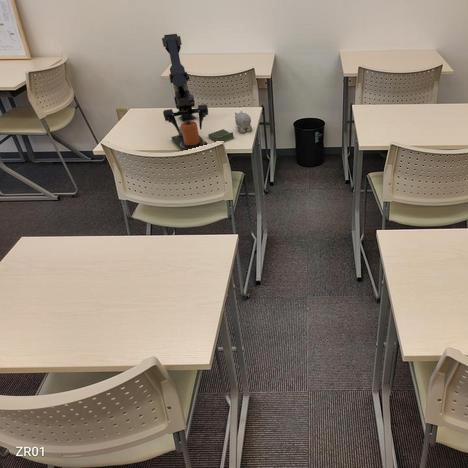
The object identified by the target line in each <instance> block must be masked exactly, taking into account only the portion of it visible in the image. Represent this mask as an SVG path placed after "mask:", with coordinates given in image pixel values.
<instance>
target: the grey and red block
mask: <svg viewBox="0 0 468 468" xmlns="http://www.w3.org/2000/svg"><path fill="white" fill-rule="evenodd" d="M178 128H179V132H180V133H178V132H177V135H179V136H183V134H182V130H181V126H178Z"/></svg>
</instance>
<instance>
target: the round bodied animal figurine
mask: <svg viewBox="0 0 468 468" xmlns="http://www.w3.org/2000/svg"><path fill="white" fill-rule="evenodd" d="M234 115H235V116H234V119H235V120H234V122H235V126H236V127H237V131H238V132H239V133H240V134H245V133H246V131H247V132H252V131H253V127H252V125H251V124H252V118H251V116H250V115H249V114H248V113H247V112H243V111H240V112H236V111H235V112H234Z"/></svg>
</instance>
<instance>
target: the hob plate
mask: <svg viewBox="0 0 468 468" xmlns="http://www.w3.org/2000/svg"><path fill="white" fill-rule="evenodd" d="M201 138H202V137H201ZM201 138H200V142H199V143H198V144H196V145H185V143H184V141H182V142H181V143H180V146H181V147H182V148H186V149H192V148H196V147H199V146H202V145H203V144H204V143H205V141H206V140H205V139H203V138H202V139H201ZM204 140H205V141H204Z"/></svg>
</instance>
